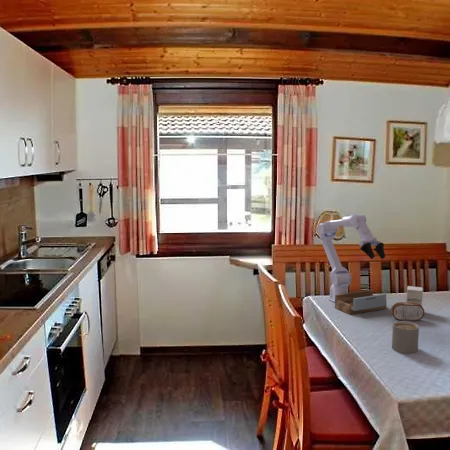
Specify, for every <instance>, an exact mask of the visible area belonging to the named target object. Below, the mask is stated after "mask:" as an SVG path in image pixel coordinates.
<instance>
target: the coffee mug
mask: <svg viewBox="0 0 450 450" xmlns="http://www.w3.org/2000/svg"><path fill="white" fill-rule="evenodd" d="M419 333H420V326H419V324H417V323H414V322H411V321H406V320H398V321H395V322H393V323H392V335H391V336H392V337H391V340H392V341H391V349H392V350H393V351H395V352H397V353H400V354H405V353H406V354H409V355H410V354H411V355H413V354H416V353H417V352H418V351H419V335H420V334H419ZM406 354H405V355H406Z"/></svg>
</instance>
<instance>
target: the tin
mask: <svg viewBox="0 0 450 450" xmlns="http://www.w3.org/2000/svg"><path fill="white" fill-rule="evenodd" d="M390 312H391V315H392V316H393V318H394V319H396V320H398V321H408V322H411V321H415V322H416V321H417V322H418V321H420V320H422V319H423V318H424V316H425V309H424V307H423V305H422V306H421V305H420V304H418V303H406V302H404V301H402V302H396V303H394V304H393V305H392V306H391V309H390Z"/></svg>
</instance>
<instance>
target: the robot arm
mask: <svg viewBox="0 0 450 450" xmlns="http://www.w3.org/2000/svg"><path fill="white" fill-rule="evenodd" d="M340 226H343V227H344V228H351V227H353V228H354V229H355V231H356V232H357V234H358V235H359V237H360V239H361V240H360V241H359V242H358V245H359V246H360V250H361V251H362V252H364V253H365V254H366V256H368V257H369V258H370V259H371V260H372V259H374V258H375V253H376V254H378V256H379V257H380V259H381V260H384V259H385V258H386V254H385V248H384V247H385V244H384V242H382V241H380V240H378V239H377V237H374V235H373V233H372V232H371V229H370V228H369V225H368V224H367V218H366V215H365V214H362V213H359V214H355V213H353V214H352V215H350V214H346V215H345V216H343V217H342V218H341V219H336V220H334V219H332V220H327V221H324V222H322V223H321V222H320V223H319V224H318V226H317V230H316V231H317V234H318V236H319V239H320V241H321V244H322V247H323V249H324V251H325V254H326V257H327V259H328V262H329V265H330V267H331V272H330V273H329V277H330V282H331V283H332V284H331V285H330V288H329V298H328V301H331V302H334V303H335V295H338V294H344V293H349V292H348V290H349V286H350V284H351V283H352V280H353V279H352V278H353V277H352V275H351V273H350V272H349V271H348V269H347V268H346V267H344V266H342V263H341V261H340V258H339V256H338V253H337V251H336V247H335V245H334V242H333V240H334V239H335V237H336V236H337V233H338V231H339V227H340ZM372 247H374V249H372Z"/></svg>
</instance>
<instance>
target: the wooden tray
mask: <svg viewBox="0 0 450 450" xmlns="http://www.w3.org/2000/svg"><path fill="white" fill-rule="evenodd" d="M373 293H374V289H366V290H365V289H364V290H360V291H352V292H348V293H344V294H338V295H335V302H334V309H336V310H339V311H341V312H343V313H345V314H347V315H354V314H355V315H356V314H359V313H360V314H361V313H367V312H371V311H378V310H384V309H387V305H386V306H382V307H376V308H370V309H364V310H358V311H353V299H354V298H360V297H367V296H373V295H374V294H373ZM386 303H387V299H386Z"/></svg>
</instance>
